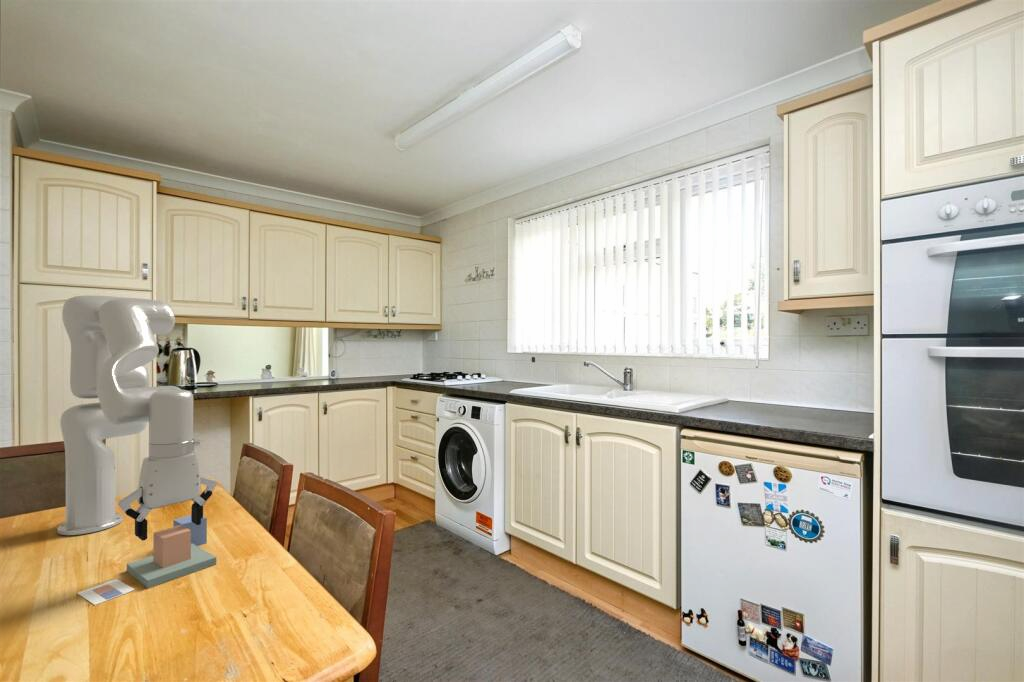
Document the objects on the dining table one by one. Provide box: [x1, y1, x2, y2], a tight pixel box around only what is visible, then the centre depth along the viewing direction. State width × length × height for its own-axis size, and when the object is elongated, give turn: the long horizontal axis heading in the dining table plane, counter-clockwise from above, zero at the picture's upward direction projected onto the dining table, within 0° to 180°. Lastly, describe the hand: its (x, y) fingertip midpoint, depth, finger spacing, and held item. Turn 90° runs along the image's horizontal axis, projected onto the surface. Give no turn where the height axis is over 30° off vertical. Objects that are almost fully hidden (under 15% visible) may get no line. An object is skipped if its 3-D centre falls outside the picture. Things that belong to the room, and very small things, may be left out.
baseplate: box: [126, 543, 217, 589], centre depth 99 cm, size 12×12×2 cm
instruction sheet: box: [77, 578, 135, 606], centre depth 89 cm, size 8×6×1 cm
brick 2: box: [173, 514, 208, 547], centre depth 110 cm, size 5×5×6 cm
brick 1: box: [152, 525, 191, 568], centre depth 99 cm, size 5×5×6 cm
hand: (170, 530), depth 99 cm, fingers open, 9 cm apart
